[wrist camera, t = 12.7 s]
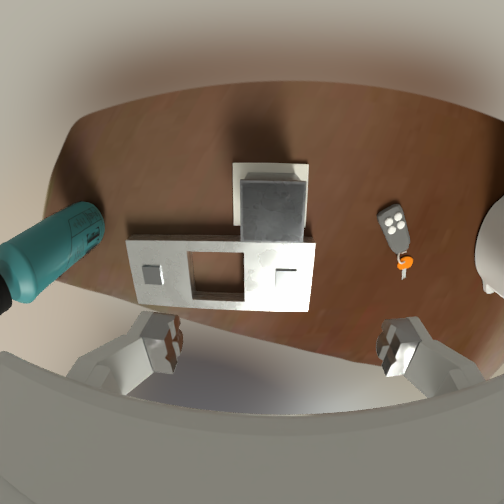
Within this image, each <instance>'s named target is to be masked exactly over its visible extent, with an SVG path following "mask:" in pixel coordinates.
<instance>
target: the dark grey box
mask: <svg viewBox="0 0 504 504" xmlns="http://www.w3.org/2000/svg"><path fill="white" fill-rule="evenodd" d="M306 184H307V182H306V181H301V180H300V179H299V177H298V176H297V175H296V174H295V173H271V172H248V173H247V175H246V177H245V179H240V232H241V242H252V243H298V244H303V235H304V220H305V203H306Z"/></svg>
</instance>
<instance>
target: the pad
mask: <svg viewBox="0 0 504 504" xmlns="http://www.w3.org/2000/svg"><path fill="white" fill-rule="evenodd" d="M308 169H309V165H308V164H292V163H233V212H234V226H240V179H245V177H246V175H247V173H248V172H271V173H295V174H296V175H297V176H298V177H299V179H300V180H301V181H306V182H307V184H306V203H305V220H304V227H305V225H306V209H307V191H308Z"/></svg>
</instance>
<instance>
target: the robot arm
mask: <svg viewBox="0 0 504 504" xmlns="http://www.w3.org/2000/svg"><path fill="white" fill-rule="evenodd" d="M475 263H476V268H477V271H478V273H479V275H480V276H481V278H482V280H483V289H484V291H485V292H486V293H488V294H490V293H493V292H496V293H498V294H499V295H500V296H501V297H503V298H504V196H503V197H502V198H501V199H499V200H498V201H497V202H496V203H495V204H494V205H493V206H492V207H491V209H490V210H489V212H488V213H487V215H486V217H485V219H484V221H483V223H482V225H481V228H480V231H479V234H478V238H477V243H476V249H475ZM179 326H180V318H179V316H178V315H174V314H166V313H158V312H148V311H142V312H141V313H140V315H139V316H138V318H137V319H136V321H135V322H134V324H133V325H132V327H131V329H130V330H129V332H128V333H127V335H121V336H120V337H118V338H116V339H114V340H112V341H110V342H108V343H106V344H104V345H103V346H100V347H99V348H97V349H95V350H93V351H91V352H89V353H87V354H85V355H83V356H81V357H79V358H78V360H77V361H76V362H75V364H74V365H73V367H72V368H71V370H70V371H69V373H68V374H67V376H66V377H64V376H61V375H59V374H56V373H54V372H51V371H49V370H46V369H44V368H41V367H39V366H37V365H34V364H32V363H30V362H27V361H25V360H23V359H21V358H19V357H17V356H15V355H13V354H11V353H9V352H5V351H2V352H0V504H504V374H502V375H500V376H497V377H495V378H492V379H489V380H487V381H486V380H485V379H484V377H483V376H482V374H481V372H480V371H479V369H478V367H477V366H476V364H475V363H474V362H472V361H470V360H469V359H467V358H465V357H464V356H462V355H460V354H459V353H457V352H455V351H454V350H452V349H450V348H449V347H447V346H445V345H444V344H442V343H440V342H439V341H437V340H432V338H431V336H430V335H429V333H428V332H427V330H426V329H425V327H424V326H423V324H422V322H421V321H420V319H419V318H418V317H407V318H398V319H385V320H384V322H383V324H382V327H381V328H382V330H383V332H382V333H381V334H380V335H379V336H378V339H377V342H376V351H377V355H378V357H379V358H380V359H381V360H383V363H382V368H383V370H384V373H385V375H386V376H387V377H388V376H397V375H404V377H406V378H407V379H408V380H409V381H410V382H411V383H412V384H413V385H414V386H415V387H416V388H418V389H419V390H420V391H421V392H422V393H423V394H424V395H425V396H426V397H427V399H423V400H418V401H413V402H409V403H403V404H398V405H393V406H387V407H380V408H373V409H366V410H358V411H349V412H337V413H323V414H298V415H271V414H270V415H269V414H246V413H231V412H220V411H209V410H202V409H194V408H187V407H181V406H174V405H168V404H163V403H157V402H153V401H148V400H143V399H139V398H134V397H130V396H126V394H127V393H129V392H130V391H131V390H132V389H134V388H135V387H136V386H137V385H139V384H140V383H141V382H142V381H143V380H145V379H146V378H147V377H148V376H150V375H151V374H152V373H153V372H160V373H168V374H173V373H174V371H175V368H176V365H177V358H176V357H177V356H179V355H180V354H181V351H182V347H183V334H182V332H181V330H180V329H179Z"/></svg>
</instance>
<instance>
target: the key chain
mask: <svg viewBox="0 0 504 504" xmlns="http://www.w3.org/2000/svg"><path fill="white" fill-rule="evenodd" d="M377 219H378V222H379V224H380V227H381V229H382V231H383V233H384V235H385V237H386V240H387V242H388V244H389V246H390V248H391V249H392V251H393V252H395V253H396V254H398V255H397V259H398V263H397V267H398V268H399V269H401V270H402V280H403V277H404V278H405V277H406V268H409V267H410V266H411V265H412V263H413V259H412V258H411V257H409V256H405V257H403V258H401V259H399V256H400V253H401V252H403V251H404V252H403V253H405V252H407V251H405V250H407V248H408V247H409V246H408V245H409V243H410V237H409V233H408V228H407V224H406V221H405V217H404V213H403V210H402V208H401V206H400V205H399V204H393V205H391V206H390V207H388V208H386V209H384V210H382V211H381V212H379V213H378V214H377ZM403 253H402V254H403Z"/></svg>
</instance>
